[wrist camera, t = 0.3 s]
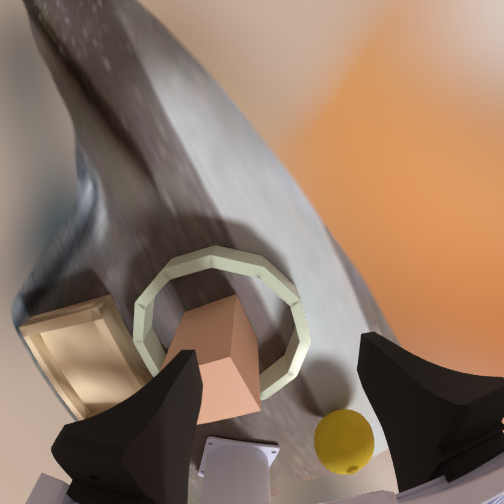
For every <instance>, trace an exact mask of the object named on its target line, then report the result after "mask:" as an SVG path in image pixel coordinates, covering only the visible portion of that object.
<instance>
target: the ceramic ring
mask: <svg viewBox="0 0 504 504" xmlns="http://www.w3.org/2000/svg"><path fill="white" fill-rule="evenodd" d="M208 268H216V269H221V270H225V271H229V272H234V273H238V274H243V275H247V276H252V277H256V278H259V279H260V280H261V281H262V282H263V283H264V284H265V285H267V286H268V287H269V288H270V289H271V290H272V291H273V292H275V293H276V294H277V295H278V296H279V297H280V298H281V299H283V300H284V301H285V302H286V303H287V304H288V305H289V306H290V308H291V311H292V315H293V318H294V322H295V327H294V329H293V332H292V335H291V338H290V341H289V344H288V346H287V349H286V352H285V355H283V356H282V357H281V358H280V359H278V360H277V361H276V362H275V363H274V364H272V365H271V366H270V367H269V368H267V369H266V370H265V371H263V372H262V373H261V374H260V375H259V379H260V401H261V400H265V399H267V398H268V397H270V396H271V395H272V394H274V393H275V392H276V391H278V390H279V389H281V388H282V387H283V386H285V385H286V384H287V383H289V382H290V381H291V380H293V379H294V378H295V377H296V376H297V374H298V372H299V370H300V367H301V365H302V362H303V360H304V358H305V355H306V353H307V350H308V348H309V345H310V342H311V338H310V334H309V330H308V326H307V322H306V318H305V314H304V310H303V306H302V302H301V299H300V296H299V294H298V291H297V288H296V286H295V285H294V284H293V283H292V282H291V281H290V280H289V279H287V278H286V277H285V276H284V275H283V274H282V273H281V272H280V271H279V270H278V269H277V268H275V267H274V266H273V265H272V264H271V263H270V262H269V261H268V260H267V259H266V258H265V257H263V256H262V255H257V254H253V253H248V252H244V251H239V250H235V249H231V248H226V247H222V246H217V245H214V246H211V247H207V248H204V249H201V250H197V251H194V252H191V253H187V254H184V255H181V256H177V257H174V258H172V259H171V260H170V261H169V262H168V263H167V264H166V266H165V267H164V268H163V269H162V270H161V271H160V273H159V274H158V275H157V276H156V277H155V279H154V280H153V281H152V282H151V283H150V285H149V286H148V287H147V288H146V289H145V291H144V292H143V293H142V294H141V296H140V297H139V298H138V299H137V301H136V302H135V310H134V327H133V342H134V344H135V346H136V348H137V350H138V352H139V354H140V355H141V357H142V359H143V361H144V363H145V364H146V366H147V368H148V370H149V371H150V373H151V375H152V376H153V377H155V376H156V375H157V374H158V373H159V372H160V370H161V367H162V365H163V362H164V360H165V357H166V353H165V351H164V349H163V347H162V345H161V343H160V341H159V339H158V337H157V335H156V333H155V331H154V329H153V327H152V320H153V310H154V300H155V296H156V295H157V293H158V292H159V291H160V290H161V289H162V288H163V287H164V285H165V284H166V283H167V282H168V281H169V280H170V279H173V278H177V277H180V276H184V275H187V274H191V273H194V272H198V271H201V270H205V269H208Z"/></svg>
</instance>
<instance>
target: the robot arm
mask: <svg viewBox="0 0 504 504" xmlns="http://www.w3.org/2000/svg"><path fill="white" fill-rule="evenodd" d="M357 372H358V375H359V378H360V381H361V384H362V387H363V389H364V391H365V393H366V396H367V398H368V400H369V402H370V404H371V406H372V408H373V410H374V412H375V414H376V416H377V418H378V420H379V422H380V424H381V426H382V429H383V431H384V434H385V437H386V440H387V444H388V447H389V450H390V454H391V457H392V461H393V465H394V469H395V474H396V479H397V484H398V490H399V493H398V494H395V493H394V492H389V491H383V490H381V491H376V492H370V493H365V494H361V495H357V496H353V497H349V498H345V499H340V500H334V501H329V502H324V503H318V504H503V503H504V433H503V431H502V430H504V424H503V423H502V422H501V421H502V419H503V417H504V378H503V377H491V376H479V375H472V374H467V373H462V372H458V371H454V370H450V369H447V368H444V367H441V366H438V365H436V364H433V363H430V362H428V361H426V360H424V359H422V358H420V357H418V356H416V355H413V354H412V353H410V352H408V351H406V350H404V349H403V348H401V347H399V346H398V345H396V344H394V343H393V342H391V341H389V340H388V339H386V338H384V337H383V336H381V335H379V334H377V333H376V332H369V333H363V334H361V340H360V349H359V358H358V365H357ZM202 394H203V382H202V378H201V373H200V369H199V365H198V360H197V356H196V351H195V349H193V350H181V351H180V352H179V353H178V354H177V355H176V356H175V357H174V358H173V359H172V360H171V361H170V362H169V363H168V364H167V365H166V366H165V367H164V368H163V369H162V370H161V371H160V372H159V373H158V374H157V375H156V376H155V377H154V378H153V379H152V380H150V381H149V382H148V383H147V384H146V385H145V386H144V387H142V388H141V389H140V390H138V391H137V392H136V393H134V394H133V395H132V396H130V397H129V398H127V399H126V400H124V401H122V402H120V403H119V404H117V405H115V406H113V407H112V408H110V409H108V410H106V411H104V412H101V413H99V414H97V415H94V416H92V417H89V418H87V419H84V420H81V421H77V422H74V423H70V424H67V425H64V427H63V428H62V430H61V432H60V433H59V435H58V437H57V438H56V440H55V442H54V443H53V445H52V448H51V452H52V454H53V456H54V458H55V460H56V461H57V462H58V464H59V465H60V466H61V467H62V468H63V470H64V471H65V472H66V473H67V474H68V475H69V476H70V477H71V479H72V482H71V484H70V485H69V484H67V483H65V482H63V481H61V480H59V479H56V478H54V477H51V476H49V475H46V474H44V473H41V475H40V477H39V479H38V481H37V482H36V484H35V486H34V488H33V490H32V492H31V494H30V496H29V498H28V500H27V502H26V504H187V498H188V477H189V464H190V454H191V447H192V442H193V438H194V434H195V429H196V425H197V421H198V417H199V413H200V408H201V404H202ZM279 450H280V447H279V446H278V445H269V444H259V443H251V442H243V441H236V440H229V439H223V438H217V437H212V436H210V437H207V440H206V444H205V448H204V452H203V456H202V460H201V464H200V468H199V472H198V475H199V476H201V477H204V478H203V486H202V494H201V502H200V504H271V494H270V477H269V467H270V466H271V464H272V462H273V460H274V459H275V457H276V455H277V454H278V452H279Z"/></svg>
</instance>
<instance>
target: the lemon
mask: <svg viewBox="0 0 504 504" xmlns="http://www.w3.org/2000/svg"><path fill="white" fill-rule="evenodd" d="M314 446H315V450H316V454H317V456H318V458H319V460H320V462H321V463H322V464H323V465H324V467H325V468H326V469H328V470H329V471H332V472H334V473H338V474H354V473H356V472H357V471H358V470H360V469H361V468H362V467H364V466H365V465H366V464H367V463H368V461H369V460H370V459H371V457H372V455H373V451H374V436H373V432H372V429H371V426H370V424H369V423H368V421H367V420H366V419H365V418H364V417H363V416H362V415H361V414H360V413H358V412H356V411H353V410H348V409H341V410H336V411H333V412H331V413H329V414H328V415H326V416H325V417H324V418H323V419H322V420H321V421H320V422H319V424H318V426H317V428H316V430H315V435H314Z"/></svg>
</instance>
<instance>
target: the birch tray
mask: <svg viewBox="0 0 504 504" xmlns="http://www.w3.org/2000/svg"><path fill="white" fill-rule="evenodd" d="M19 329H20V331H21V333H22V335H23V336H24V338H25V340H26V342H27V344H28V346H29V347H30V349H31V351H32V353H33V354H34V356H35V358H36V359H37V361H38V363H39V364H40V366H41V367H42V369H43V371H44V372H45V374H46V375H47V377H48V378H49V380H50V381H51V383H52V384H53V386H54V387H55V389H56V390H57V392H58V393H59V394H60V396H61V397H62V399H63V400H64V401H65V403H66V404H67V405H68V407H69V408H70V409H71V411H72V412H73V413H74V415H75V416H76V417H77V418H78V420H79V421H81V420H84V419H87V418H89V417H92V416H94V415H97V414H99V413H101V412H104V411H106V410H108V409H110V408H112V407H113V406H115V405H117V404H119V403H120V402H122V401H124V400H126V399H127V398H129V397H130V396H132V395H133V394H134V393H136V392H137V391H138V390H140V389H141V388H142V387H144V386H145V385H146V384H147V383H148V382H149V381H150V380H152V379H153V378H154V377H153V376H152V375H151V373H150V371H149V370H148V368H147V366H146V364H145V363H144V361H143V359H142V357H141V355H140V354H139V352H138V350H137V348H136V346H135V344H134V342H133V339H132V337H131V335H130V333H129V332H128V330H127V328H126V326H125V324H124V322H123V319H122V317H121V315H120V313H119V311H118V309H117V307H116V305H115V303H114V300H113V298H112V296H111V294H109V295H106V296H102V297H99V298H95V299H92V300H88V301H85V302H81V303H78V304H74V305H71V306H67V307H64V308H60V309H57V310H53V311H50V312H46V313H43V314H39V315H36V316H32V317H31V318H30V319H29V320H27V321H26V322H25V323H24V324H23V325H21V326H20V327H19Z"/></svg>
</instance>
